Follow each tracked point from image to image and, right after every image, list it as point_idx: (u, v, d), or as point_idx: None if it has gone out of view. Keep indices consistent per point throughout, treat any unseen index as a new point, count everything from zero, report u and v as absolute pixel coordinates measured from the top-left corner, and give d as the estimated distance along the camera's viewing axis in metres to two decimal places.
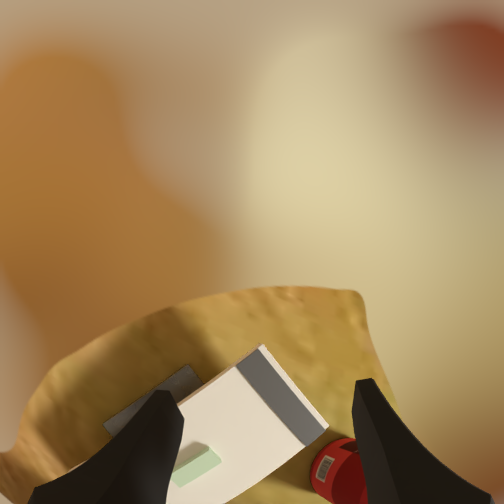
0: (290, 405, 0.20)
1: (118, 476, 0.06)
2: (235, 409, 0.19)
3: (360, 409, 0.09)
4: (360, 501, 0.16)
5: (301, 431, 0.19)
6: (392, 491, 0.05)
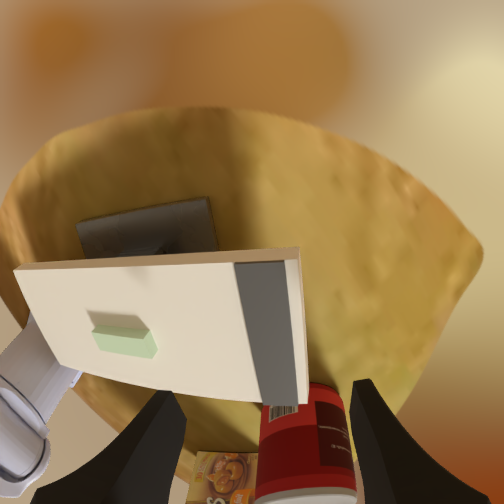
0: (276, 359, 0.14)
1: (121, 477, 0.06)
2: (202, 315, 0.14)
3: (357, 409, 0.09)
4: (266, 483, 0.16)
5: (268, 389, 0.15)
6: (388, 492, 0.05)
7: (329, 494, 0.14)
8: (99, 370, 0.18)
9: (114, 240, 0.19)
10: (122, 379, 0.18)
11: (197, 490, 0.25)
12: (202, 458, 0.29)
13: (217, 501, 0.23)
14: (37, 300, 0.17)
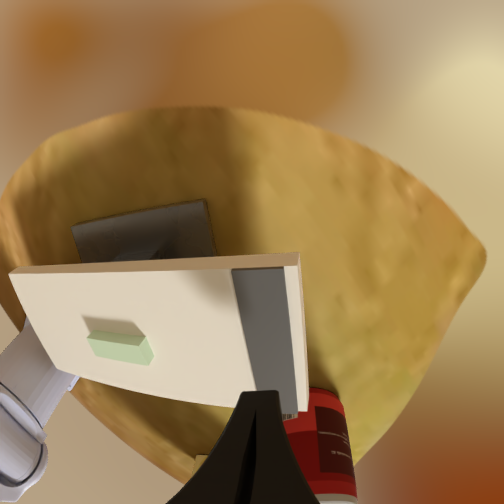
0: (275, 367, 0.13)
1: (236, 494, 0.06)
2: (199, 322, 0.13)
3: None
4: None
5: None
6: None
7: (329, 501, 0.13)
8: (95, 375, 0.18)
9: (110, 243, 0.18)
10: (119, 384, 0.17)
11: None
12: (201, 462, 0.29)
13: None
14: (32, 304, 0.16)
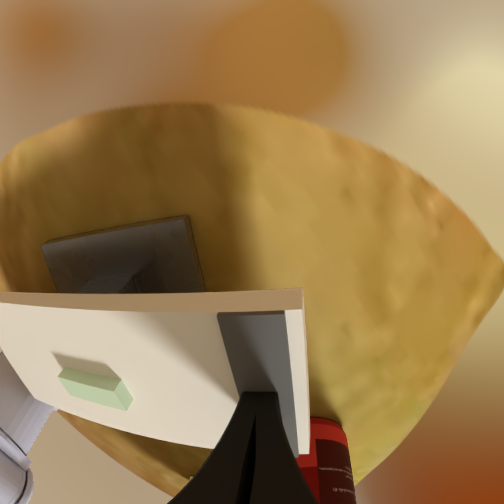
0: None
1: (237, 494, 0.06)
2: (181, 369, 0.10)
3: None
4: None
5: None
6: None
7: None
8: (74, 410, 0.15)
9: (82, 265, 0.15)
10: (99, 421, 0.14)
11: None
12: None
13: None
14: (1, 333, 0.13)
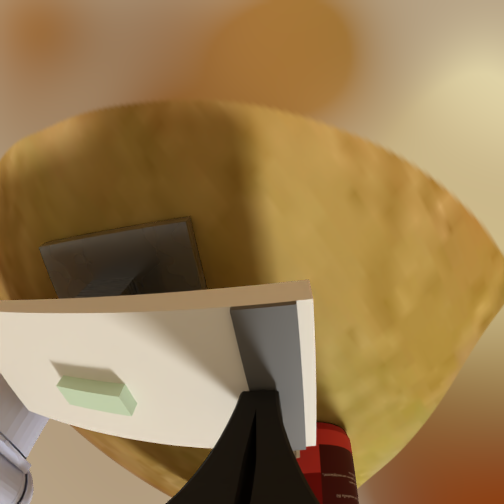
0: (283, 409, 0.11)
1: (236, 494, 0.06)
2: (189, 368, 0.10)
3: None
4: None
5: None
6: None
7: None
8: (72, 420, 0.14)
9: (81, 267, 0.15)
10: (99, 429, 0.14)
11: None
12: None
13: None
14: None
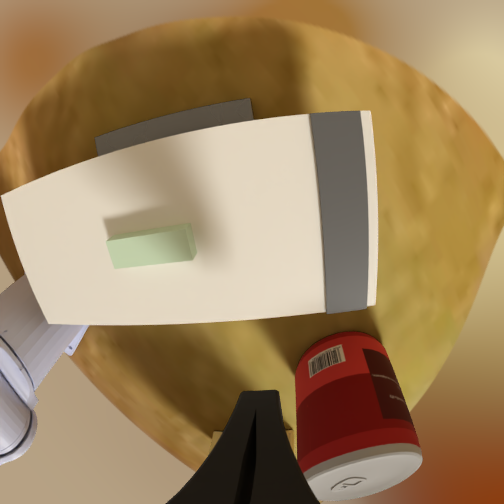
0: (350, 235, 0.12)
1: (236, 494, 0.06)
2: (266, 185, 0.12)
3: None
4: (316, 449, 0.13)
5: (337, 286, 0.13)
6: None
7: (399, 452, 0.11)
8: (103, 314, 0.15)
9: None
10: (135, 319, 0.15)
11: None
12: None
13: None
14: (28, 227, 0.13)
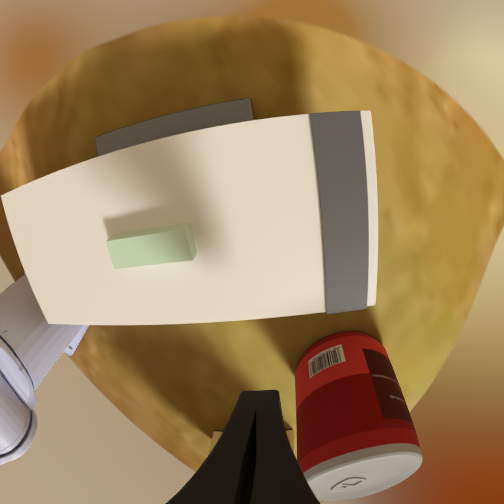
0: (350, 235, 0.12)
1: (236, 494, 0.06)
2: (266, 185, 0.12)
3: None
4: (316, 449, 0.13)
5: (337, 286, 0.13)
6: None
7: (399, 452, 0.11)
8: (103, 314, 0.15)
9: None
10: (135, 319, 0.15)
11: None
12: None
13: None
14: (28, 227, 0.13)
